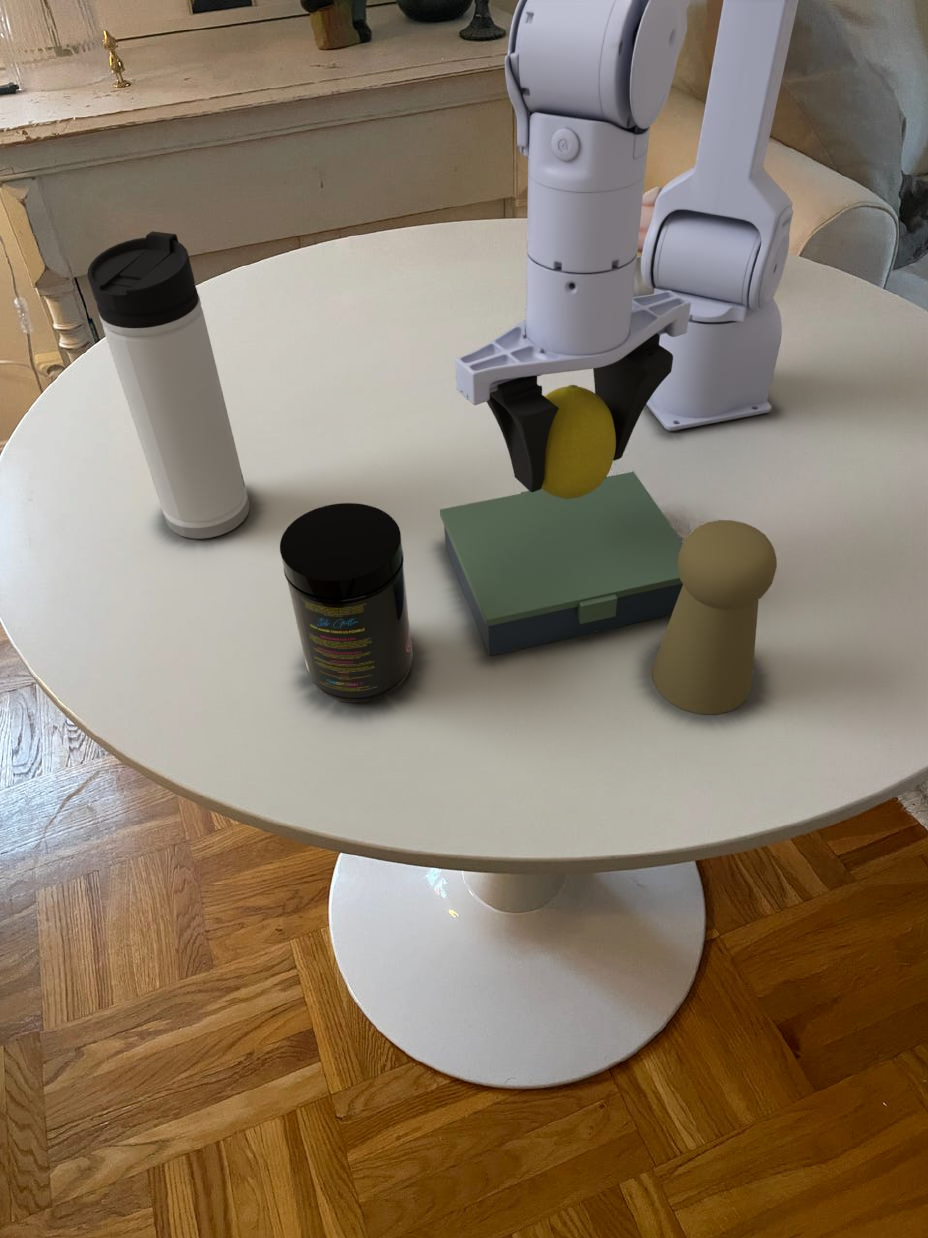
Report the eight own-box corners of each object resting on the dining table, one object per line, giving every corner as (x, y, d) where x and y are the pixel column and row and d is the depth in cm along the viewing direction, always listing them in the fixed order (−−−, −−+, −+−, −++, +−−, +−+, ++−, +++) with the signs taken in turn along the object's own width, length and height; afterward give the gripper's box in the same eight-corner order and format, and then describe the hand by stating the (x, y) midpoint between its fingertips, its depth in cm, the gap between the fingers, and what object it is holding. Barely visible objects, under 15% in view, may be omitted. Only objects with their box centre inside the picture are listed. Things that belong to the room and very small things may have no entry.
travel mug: (267, 494, 72) (209, 235, 58) (224, 547, 68) (150, 281, 53) (196, 480, 73) (123, 225, 59) (150, 531, 69) (60, 269, 55)
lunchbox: (627, 506, 69) (631, 467, 67) (699, 615, 61) (707, 576, 59) (440, 544, 67) (438, 505, 65) (488, 663, 59) (488, 624, 56)
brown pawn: (642, 645, 59) (662, 508, 52) (735, 637, 59) (769, 499, 52) (664, 718, 55) (690, 581, 47) (765, 710, 55) (807, 571, 47)
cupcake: (598, 307, 92) (606, 203, 85) (601, 266, 99) (609, 167, 92) (695, 310, 91) (710, 205, 84) (691, 268, 98) (706, 168, 90)
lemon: (617, 521, 58) (629, 409, 52) (527, 526, 57) (530, 415, 52) (602, 469, 62) (612, 359, 56) (519, 474, 61) (520, 364, 56)
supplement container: (424, 695, 57) (412, 567, 50) (315, 718, 56) (286, 591, 49) (402, 620, 62) (388, 493, 54) (301, 640, 61) (273, 514, 53)
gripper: (645, 195, 53) (624, 403, 63) (422, 256, 48) (436, 471, 58) (729, 237, 49) (692, 454, 58) (493, 309, 44) (495, 532, 53)
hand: (569, 466), depth 58 cm, fingers closed on lemon, 5 cm apart
